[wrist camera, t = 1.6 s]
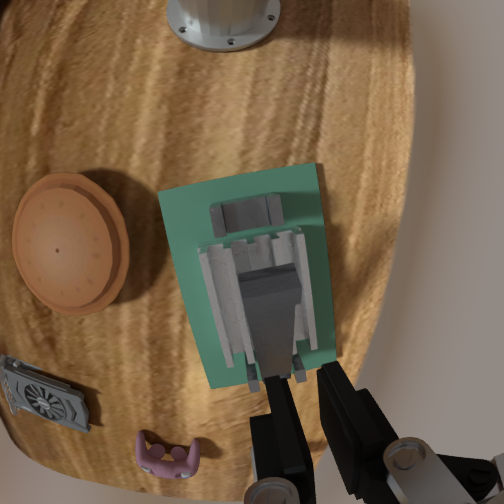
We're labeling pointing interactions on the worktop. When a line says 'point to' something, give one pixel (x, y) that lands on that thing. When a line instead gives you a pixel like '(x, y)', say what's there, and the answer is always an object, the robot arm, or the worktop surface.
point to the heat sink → (249, 259)
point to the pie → (71, 244)
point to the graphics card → (43, 395)
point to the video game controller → (167, 469)
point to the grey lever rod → (272, 315)
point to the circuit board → (201, 231)
